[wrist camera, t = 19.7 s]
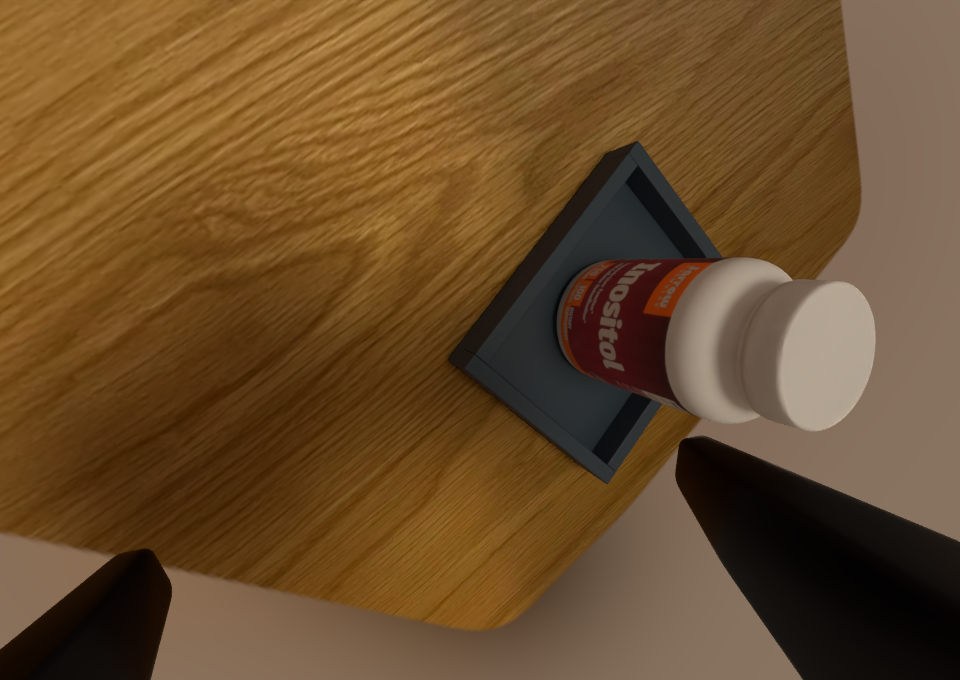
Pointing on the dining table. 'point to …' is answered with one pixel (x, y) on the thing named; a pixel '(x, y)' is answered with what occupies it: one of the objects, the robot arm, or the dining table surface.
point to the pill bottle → (721, 338)
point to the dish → (535, 301)
